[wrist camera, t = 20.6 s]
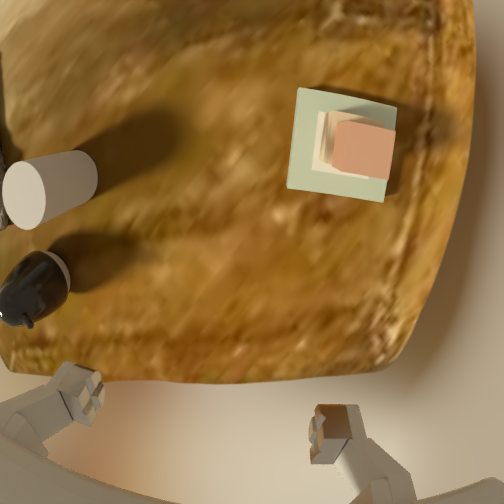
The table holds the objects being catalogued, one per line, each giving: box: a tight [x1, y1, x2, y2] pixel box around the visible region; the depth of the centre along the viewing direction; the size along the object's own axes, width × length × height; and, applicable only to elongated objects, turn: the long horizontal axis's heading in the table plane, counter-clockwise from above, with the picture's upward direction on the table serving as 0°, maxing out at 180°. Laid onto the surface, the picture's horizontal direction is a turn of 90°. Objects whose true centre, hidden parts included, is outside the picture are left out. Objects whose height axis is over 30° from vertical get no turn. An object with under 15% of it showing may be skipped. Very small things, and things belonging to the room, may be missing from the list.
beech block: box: [319, 110, 385, 165], centre depth 30 cm, size 6×6×5 cm
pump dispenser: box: [0, 251, 70, 329], centre depth 38 cm, size 10×10×15 cm
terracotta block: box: [331, 121, 396, 180], centre depth 26 cm, size 4×4×4 cm
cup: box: [2, 150, 98, 230], centre depth 33 cm, size 8×8×12 cm
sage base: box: [287, 87, 397, 203], centre depth 34 cm, size 12×12×3 cm
